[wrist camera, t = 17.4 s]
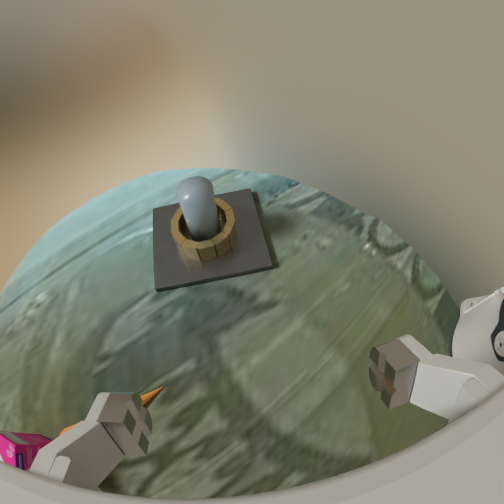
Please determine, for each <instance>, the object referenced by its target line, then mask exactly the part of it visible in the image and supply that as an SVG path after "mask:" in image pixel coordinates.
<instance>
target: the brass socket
mask: <svg viewBox="0 0 504 504" xmlns="http://www.w3.org/2000/svg"><path fill="white" fill-rule="evenodd" d="M215 202H216V207H217V212H218V217H219V218H221V219H222V220H223V221H224V222H225V223H226V224H225V226H224V228H223V231H222V232H221V233H219V234H218V235H217V236H215V237H214V238H213V239H211V240H206V241H201V242H196V241H192V240H188V239H186V238H185V237H184V236H183V233H184V231H185V229H186V228H187V224H186V221H185V218H184V215H183V212H182V209H181V206H180V207H179V209H177V211H176V212H175V214H174V216H173V218H172V219H171V234H172V236H173V239H174V241H175V243H176V245H177V247H178V248H179V249H180V251H181V252H182V253H183V254H184V255H185V256H187V258H191V259H194V260H198V261H201V260H202V261H206V260H211V259H216V258H217V256H218V257H220V256H222V255H223V254H224V253H225V252H227V251H228V250H229V249H231V247H232V245H233V243H234V240H235V238H236V236H237V231H236V224H235V218H234V214H233V209H232V207H230V206H229V205H228V204H227V203H226V202H225V201H223V200H221V199H219V198H215Z"/></svg>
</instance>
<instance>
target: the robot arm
mask: <svg viewBox="0 0 504 504" xmlns="http://www.w3.org/2000/svg"><path fill="white" fill-rule="evenodd" d="M471 305H472V306H471ZM452 354H453V357H449V356H445V355H440V354H435V355H433V354H431V353H430V352H429V351H428V350H427V349H426V348H425V347H424V346H422V345H421V344H420V343H419V342H418V341H417V340H416V339H414V338H413V337H412V336H411V335H409V334H406V335H404V336H401V337H399V338H396V339H395V340H392V341H389V342H387V343H384V344H381V345H378V346H375V347H372V348H371V351H370V358H371V359H372V361H373V362H372V364H371V365H370V367H369V377H370V381H371V384H372V386H373V387H374V389H375V390H376V391H379V392H382V393H381V399H382V400H383V402H384V403H385V405H386V406H387V407H388V409H392V408H394V407H397V406H399V405H402V404H404V403H406V402H409V401H410V403H413V404H415V405H417V406H419V407H421V408H424V409H426V410H428V411H430V412H433V413H435V414H437V415H440V416H442V417H444V418H447V419H449V420H448V423H447V425H446V427H444V428H443V429H441V430H439V431H438V432H436V433H434V434H432V435H430V436H429V437H427V438H425V439H423V440H421V441H419V442H417V443H415V444H413V445H411V446H409V447H407V448H405V449H403V450H401V451H399V452H397V453H395V454H392V455H390V456H388V457H385V458H383V459H381V460H378V461H376V462H373V463H371V464H368V465H366V466H363V467H360V468H358V469H355V470H352V471H349V472H346V473H343V474H340V475H337V476H333V477H330V478H327V479H323V480H320V481H316V482H312V483H308V484H304V485H300V486H296V487H291V488H286V489H281V490H276V491H270V492H264V493H258V494H251V495H243V496H233V497H221V498H203V499H167V498H149V497H137V496H128V495H120V494H113V493H107V492H103V491H102V490H101V489H100V488H99V487H98V485H99V484H100V483H101V482H102V481H103V480H104V479H105V478H106V477H107V476H108V475H109V474H110V473H111V471H112V470H113V469H114V468H115V467H116V466H117V465H118V464H119V463H120V462H121V460H122V459H123V458H124V457H125V455H134V456H146V454H147V449H148V445H149V441H148V440H147V438H146V437H147V436H148V435H149V434H150V433H151V431H152V419H151V416H150V413H149V411H148V409H146V408H145V407H143V406H142V405H141V404H142V401H143V400H142V398H141V397H140V395H139V394H138V393H136V392H112V393H104V392H101V393H99V394H98V395H97V397H96V399H95V401H94V403H93V405H92V407H91V409H90V411H89V413H88V415H87V418H86V420H85V421H81V422H79V423H78V424H76V425H75V426H73V427H72V428H71V429H69V430H68V431H66V432H65V433H63V434H62V435H60V436H59V437H57V438H56V439H55V440H53V441H52V442H50V443H49V444H47V445H46V446H44V447H43V448H41V449H40V450H39V451H38V453H37V455H36V457H35V459H34V461H33V463H32V465H31V467H30V469H29V472H27V471H25V470H22V469H19V468H17V467H14V466H12V465H10V464H7V463H5V462H3V461H0V504H504V287H502V288H500V289H498V290H496V291H494V292H493V294H491V295H486V296H481V297H476V298H470V299H466V300H464V301H463V302H462V303H461V308H460V319H459V321H458V324H457V326H456V328H455V331H454V336H453V342H452Z"/></svg>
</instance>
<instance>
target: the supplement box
mask: <svg viewBox="0 0 504 504" xmlns="http://www.w3.org/2000/svg"><path fill="white" fill-rule="evenodd" d="M50 442H52V441H51V440H49V439H47V438H45V437H43V436H41V435H39V434H25V433H15V432H5V431H0V461H3V462H5V463H7V464H10V465H12V466H14V467H17V468H19V469H22V470H25V471H27V472H29V469H30V467H31V465H32V463H33V461H34V459H35V457H36V455H37V453H38V451H39V450H40V449H41V448H43V447H44V446H46V445H47V444H49V443H50Z"/></svg>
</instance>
